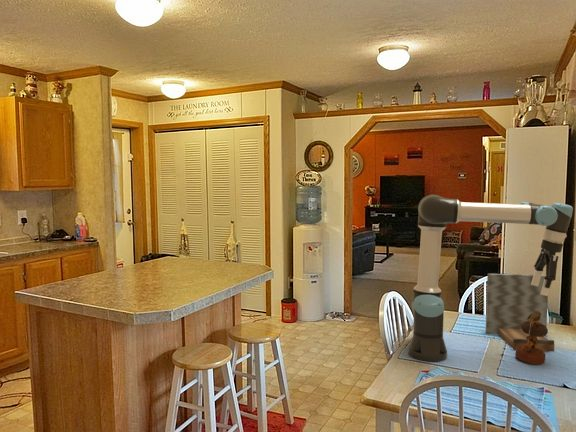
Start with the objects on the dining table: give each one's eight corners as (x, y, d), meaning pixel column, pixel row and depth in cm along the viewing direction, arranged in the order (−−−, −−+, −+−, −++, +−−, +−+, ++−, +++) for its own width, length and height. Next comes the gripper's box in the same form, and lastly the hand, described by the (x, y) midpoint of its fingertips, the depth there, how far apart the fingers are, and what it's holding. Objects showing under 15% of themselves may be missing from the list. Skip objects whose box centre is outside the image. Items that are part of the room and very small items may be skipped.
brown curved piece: (544, 368, 177) (546, 316, 175) (512, 362, 183) (514, 312, 181) (548, 356, 190) (550, 307, 188) (518, 350, 196) (520, 303, 194)
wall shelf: (501, 349, 197) (503, 283, 195) (485, 332, 219) (487, 273, 217) (566, 352, 194) (570, 285, 192) (544, 335, 216) (546, 275, 214)
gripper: (574, 249, 178) (558, 301, 182) (553, 237, 202) (540, 283, 206) (553, 245, 179) (538, 297, 183) (534, 233, 203) (521, 279, 207)
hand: (539, 290), depth 194 cm, fingers open, 13 cm apart
